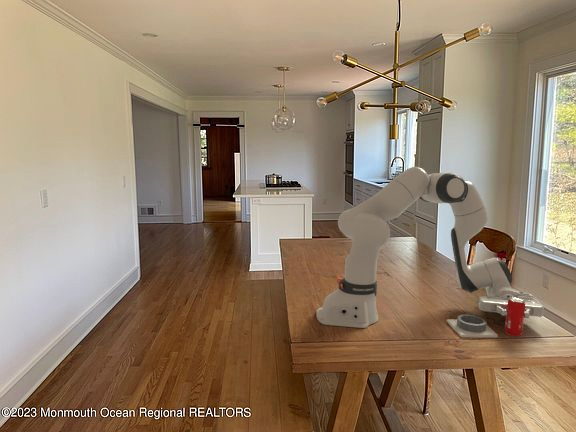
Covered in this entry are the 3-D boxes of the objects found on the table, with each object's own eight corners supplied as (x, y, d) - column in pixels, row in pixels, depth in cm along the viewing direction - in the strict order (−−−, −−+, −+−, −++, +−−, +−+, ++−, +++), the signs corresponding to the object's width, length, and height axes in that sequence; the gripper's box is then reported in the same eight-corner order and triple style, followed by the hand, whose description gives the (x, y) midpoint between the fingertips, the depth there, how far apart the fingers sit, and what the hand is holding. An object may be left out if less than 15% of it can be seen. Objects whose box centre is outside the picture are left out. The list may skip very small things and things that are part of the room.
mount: (461, 337, 139) (462, 327, 138) (446, 322, 150) (447, 312, 150) (497, 337, 139) (498, 327, 138) (480, 322, 151) (480, 312, 150)
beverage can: (506, 328, 146) (510, 295, 144) (523, 333, 142) (527, 299, 140) (502, 333, 142) (506, 299, 140) (520, 338, 138) (524, 303, 136)
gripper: (475, 289, 155) (483, 302, 142) (536, 294, 150) (550, 309, 137) (473, 305, 156) (481, 320, 143) (534, 311, 151) (548, 327, 138)
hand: (515, 314), depth 140 cm, fingers open, 5 cm apart
